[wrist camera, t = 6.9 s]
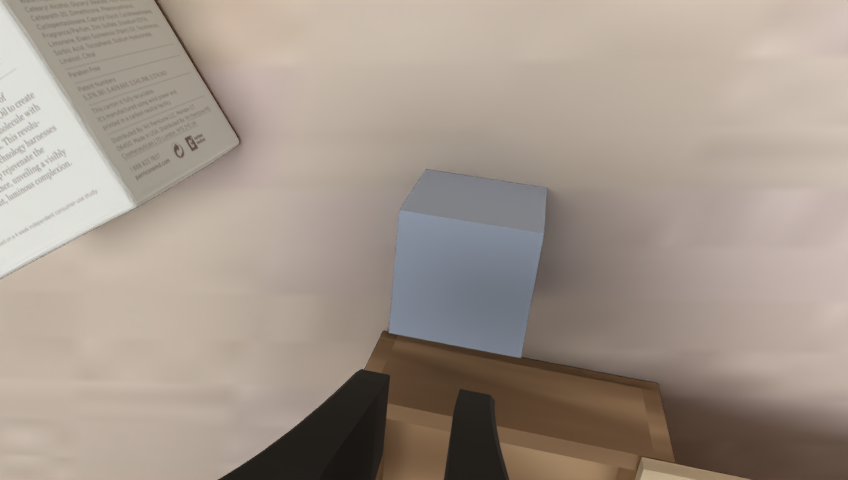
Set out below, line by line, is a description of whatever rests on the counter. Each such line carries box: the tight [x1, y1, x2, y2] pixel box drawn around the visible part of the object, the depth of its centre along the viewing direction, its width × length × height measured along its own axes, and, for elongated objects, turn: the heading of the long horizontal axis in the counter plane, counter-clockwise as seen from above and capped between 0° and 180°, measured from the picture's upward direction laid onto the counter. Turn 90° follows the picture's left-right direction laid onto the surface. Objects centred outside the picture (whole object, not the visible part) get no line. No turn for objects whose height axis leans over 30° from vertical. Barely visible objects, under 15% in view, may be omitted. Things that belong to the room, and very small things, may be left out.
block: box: [389, 169, 547, 358], centre depth 20 cm, size 4×4×4 cm
